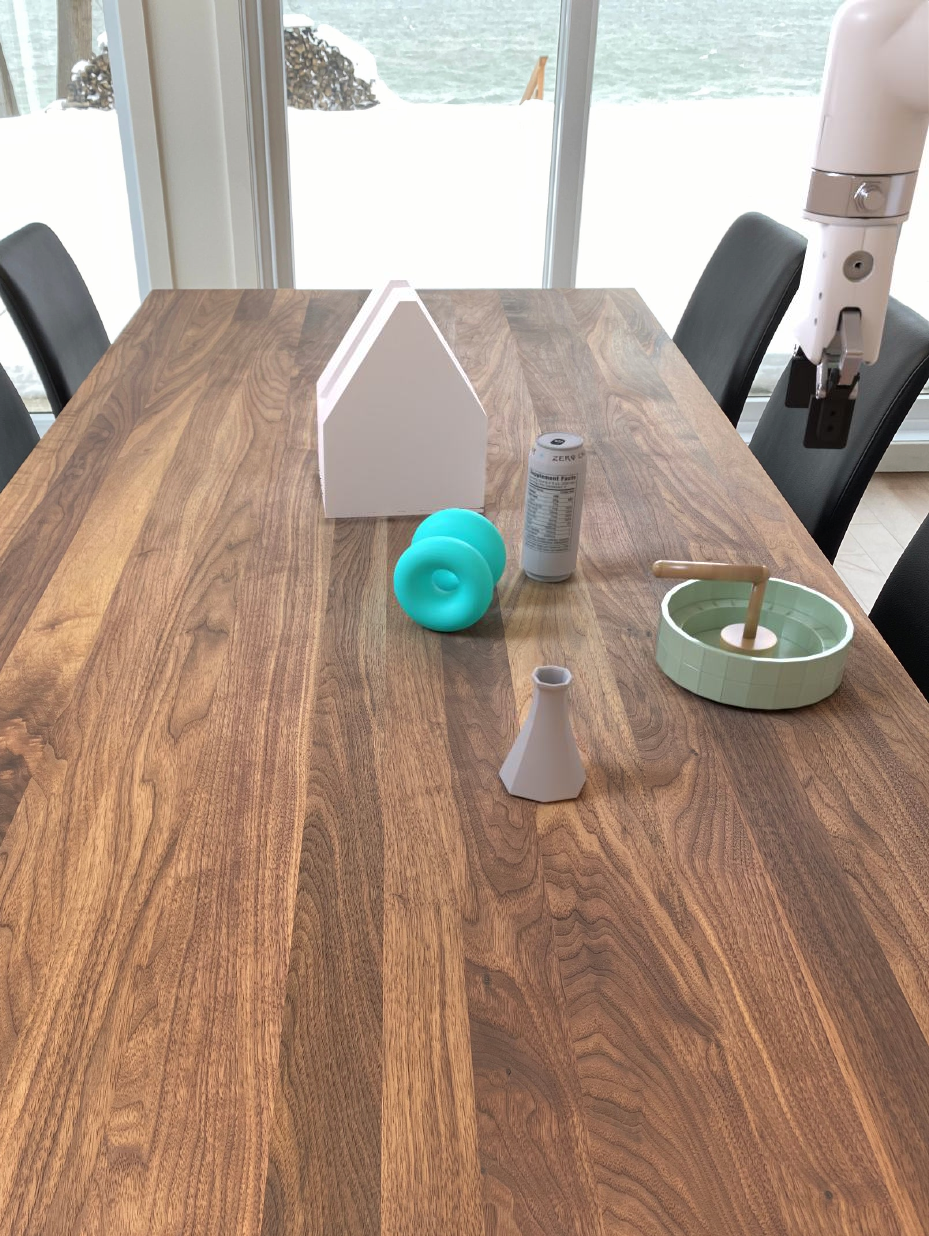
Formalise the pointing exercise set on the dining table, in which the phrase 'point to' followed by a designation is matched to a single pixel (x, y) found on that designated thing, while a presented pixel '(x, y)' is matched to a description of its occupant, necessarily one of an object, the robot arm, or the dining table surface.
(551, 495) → the energy drink can
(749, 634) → the wooden hook stand
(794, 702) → the bowl
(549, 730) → the flask
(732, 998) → the dining table surface
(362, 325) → the milk carton
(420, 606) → the turquoise spool
